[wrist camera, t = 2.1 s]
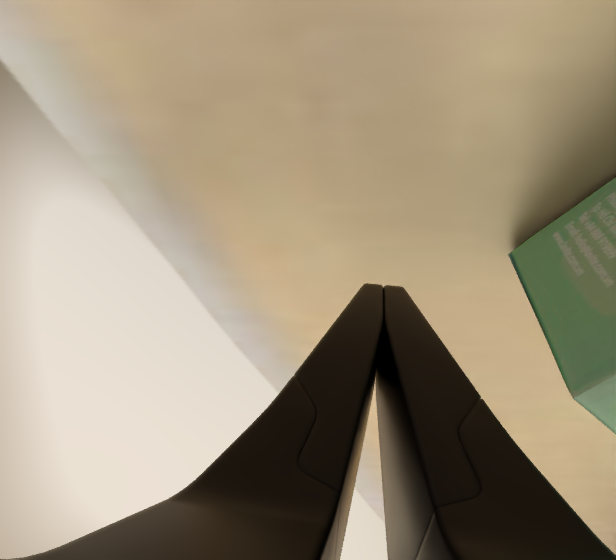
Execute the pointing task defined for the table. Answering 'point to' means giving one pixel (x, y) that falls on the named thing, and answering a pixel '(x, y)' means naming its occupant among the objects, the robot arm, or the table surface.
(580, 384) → the box
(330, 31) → the table surface
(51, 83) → the table surface
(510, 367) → the table surface
